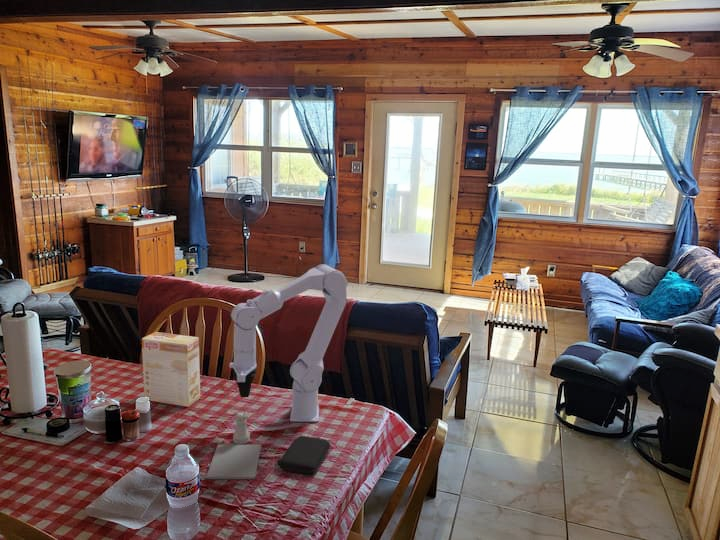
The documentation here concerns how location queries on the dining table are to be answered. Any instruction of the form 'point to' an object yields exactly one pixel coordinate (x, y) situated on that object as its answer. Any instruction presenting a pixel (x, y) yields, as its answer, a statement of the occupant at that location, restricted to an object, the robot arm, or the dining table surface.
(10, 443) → the dining table surface
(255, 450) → the slate mat
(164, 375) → the coffeecake box
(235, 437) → the rook chess piece
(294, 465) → the carrying case or bag
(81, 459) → the dining table surface
